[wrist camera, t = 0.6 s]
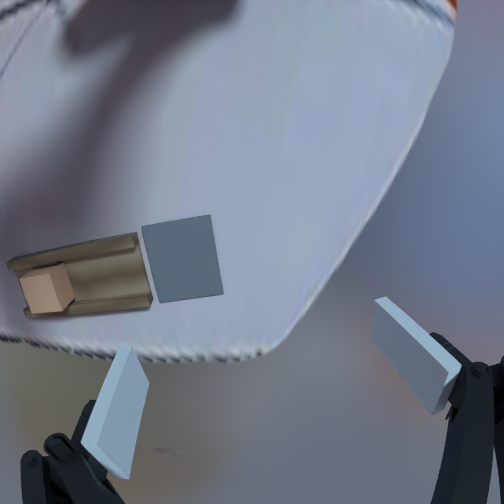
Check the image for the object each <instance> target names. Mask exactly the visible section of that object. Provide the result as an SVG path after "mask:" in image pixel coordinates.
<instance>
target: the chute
mask: <svg viewBox="0 0 504 504" xmlns="http://www.w3.org/2000/svg"><path fill="white" fill-rule="evenodd" d="M59 263H65V266H66V270H67V273H68V276H69V279H70V282H71V286H72V289H73V292H74V294H75V298H74V299H73V300H72V301H71V302H70V303H69V304H68V305H67V307H66V308H65V309H64V310H63V311H57V312H46V313H34V314H32V313H31V310H30V308H29V305H28V302H27V300H26V297H25V294H24V292H23V289H22V286H21V283H20V280H19V279H20V278H21V277H23V276H24V275H26V274H27V273H28V272H30V271H31V270H33V269H34V268H38V267H43V266H48V265H53V264H59ZM7 265H8V269H9V271H12V270H15V272H16V275H17V278H18V281H19V284H20V287H21V290H22V292H23V295H24V298H25V301H26V303H27V307H26V308H25V309H24V310H23V311H24V314H25V316H26V318H35V317H49V316H61V315H73V314H84V313H94V312H104V311H113V310H123V309H131V308H140V307H148V306H150V305H151V303H152V301H153V296H152V292H151V289H150V285H149V281H148V277H147V273H146V270H145V266H144V261H143V257H142V253H141V249H140V244H139V240H138V235H137V232H133V233H128V234H123V235H118V236H112V237H107V238H102V239H97V240H92V241H87V242H83V243H78V244H73V245H68V246H64V247H59V248H55V249H50V250H46V251H41V252H37V253H33V254H28V255H24V256H20V257H16V258H13V259H12V260H10V261H8V262H7Z"/></svg>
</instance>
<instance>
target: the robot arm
mask: <svg viewBox="0 0 504 504" xmlns="http://www.w3.org/2000/svg"><path fill="white" fill-rule="evenodd" d="M372 342H373V343H374V344H375V345H376V346H377V348H378V349H379V350H380V351H381V352H382V354H383V355H384V356H385V357H386V359H387V360H388V361H389V362H390V364H391V365H392V366H393V367H394V369H395V370H396V371H397V372H398V373H399V375H400V376H401V377H402V379H403V380H404V381H405V382H406V384H407V385H408V386H409V387H410V389H411V390H412V391H413V392H414V394H415V395H416V396H417V398H418V399H419V400H420V401H421V403H422V404H423V405H424V407H425V408H426V409H427V411H428V412H429V413H430V415H431V416H432V415H434V414H436V413H438V412H440V411H441V410H443V409H444V408H445V406H446V404H447V401H449V402H450V403H451V404H452V405H451V407H450V410H449V412H448V414H447V416H446V418H445V419H446V420H447V419H448V417H449V422H448V429H447V436H446V442H445V448H444V453H443V458H442V462H441V467H440V471H439V475H438V480H437V483H436V487H435V491H434V494H433V498H432V501H431V504H486V503H487V497H488V492H489V485H490V479H491V470H492V461H493V448H494V449H495V454H496V460H497V467H498V475H499V484H500V496H501V504H504V356H503V357H502V359H501V362H500V363H499V364H496V365H492V366H488V365H487V364H485V363H483V362H473V363H472V362H471V361H470V360H469V359H468V358H466V357H465V356H464V355H463V354H462V353H461V352H460V351H459V350H458V349H456V348H455V347H453V345H452V344H451V343H449V341H447V340H446V339H445V338H444V337H443V336H441V335H439V334H437V333H434V332H433V333H431V334H428V333H427V332H426V331H424V330H423V329H422V328H421V327H420V326H419V325H418V324H417V323H415V322H414V321H413V320H412V319H411V318H410V317H409V316H408V315H406V314H405V313H404V312H403V311H402V310H400V309H399V308H398V307H397V306H396V305H395V304H394V303H393V302H391V301H390V300H389V299H388V298H387V297H383V298H380V299H376V300H374V314H373V329H372ZM148 386H149V382H148V380H147V378H146V375H145V373H144V371H143V369H142V367H141V365H140V362H139V360H138V358H137V356H136V353H135V351H134V349H133V346H124V347H119V350H118V352H117V354H116V356H115V358H114V361H113V363H112V365H111V367H110V370H109V372H108V374H107V377H106V379H105V381H104V384H103V386H102V389H101V391H100V394H99V396H98V398H97V400H90V401H89V402H88V403H87V405H85V407H84V409H83V411H82V413H81V416H80V418H79V421H78V422H79V423H77V426H76V429H75V431H74V433H73V436H72V438H71V441H70V440H69V438H68V437H67V436H66V435H64V434H63V433H55V434H52V435H51V436H49V437H48V438H47V439H46V440H45V443H44V451H45V452H46V453H47V454H48V455H49V456H45V457H43V456H42V455H41V454H40V453H39V452H38V451H36V450H29V451H27V452H26V453H25V454H23V456H22V458H21V488H22V500H23V504H125V503H124V501H123V500H122V499H121V497H120V496H119V494H118V493H117V492H116V490H115V489H114V487H113V486H112V484H111V483H110V481H109V480H108V479H107V478H106V476H107V472H109V473H110V474H111V475H112V476H113V477H114V478H123V479H129V477H130V471H131V466H132V460H133V455H134V450H135V444H136V440H137V435H138V430H139V426H140V421H141V416H142V412H143V407H144V403H145V398H146V394H147V391H148Z"/></svg>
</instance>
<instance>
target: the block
mask: <svg viewBox="0 0 504 504" xmlns="http://www.w3.org/2000/svg"><path fill="white" fill-rule="evenodd" d="M19 280H20V283H21V286H22V289H23V292H24V294H25V297H26V300H27V302H28V305H29V308H30V310H31V313H32V314H34V313H46V312H57V311H63V310H64V309H65V308H66V307H67V305H68V304H69V303H70V302H71V301H72V300H73V299H74V298H75V294H74V292H73V289H72V286H71V282H70V279H69V276H68V273H67V270H66V266H65V263H59V264H53V265H48V266H43V267H38V268H34V269H33V270H31V271H30V272H28V273H27V274H26V275H24V276H23V277H21V278H20V279H19Z"/></svg>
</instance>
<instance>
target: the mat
mask: <svg viewBox="0 0 504 504" xmlns="http://www.w3.org/2000/svg"><path fill="white" fill-rule="evenodd" d="M142 231H143V235H144V240H145V245H146V249H147V254H148V258H149V262H150V266H151V270H152V274H153V278H154V282H155V286H156V290H157V294H158V297H159V301H160V303H161V302H169V301H176V300H184V299H191V298H198V297H205V296H212V295H219V294H224V293H223V287H222V282H221V276H220V270H219V264H218V259H217V253H216V247H215V241H214V234H213V228H212V222H211V216H210V215H205V216H199V217H193V218H187V219H181V220H175V221H169V222H163V223H158V224H152V225H147V226H142Z"/></svg>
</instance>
